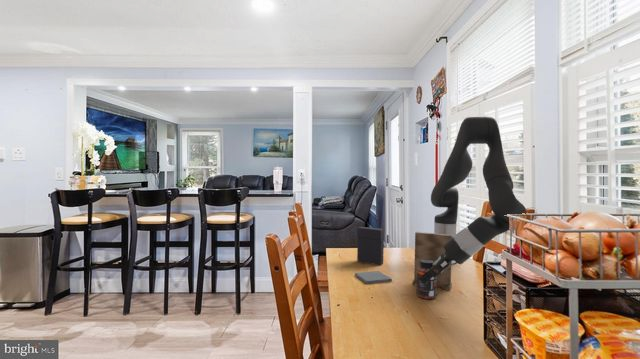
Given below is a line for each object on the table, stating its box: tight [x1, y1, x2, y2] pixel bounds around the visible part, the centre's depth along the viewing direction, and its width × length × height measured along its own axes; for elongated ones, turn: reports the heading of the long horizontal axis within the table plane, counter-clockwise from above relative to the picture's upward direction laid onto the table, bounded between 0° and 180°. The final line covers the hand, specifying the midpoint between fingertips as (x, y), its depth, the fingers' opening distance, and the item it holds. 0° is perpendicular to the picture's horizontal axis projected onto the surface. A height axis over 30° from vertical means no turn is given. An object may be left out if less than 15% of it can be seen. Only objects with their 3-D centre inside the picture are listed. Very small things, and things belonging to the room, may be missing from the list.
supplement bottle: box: [416, 260, 437, 300], centre depth 107 cm, size 6×6×11 cm
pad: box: [354, 270, 393, 285], centre depth 125 cm, size 10×10×1 cm
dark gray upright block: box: [356, 226, 385, 266], centre depth 146 cm, size 11×4×15 cm, turn 58°
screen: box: [412, 231, 453, 291], centre depth 118 cm, size 12×5×18 cm, turn 63°
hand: (423, 277), depth 108 cm, fingers open, 8 cm apart
